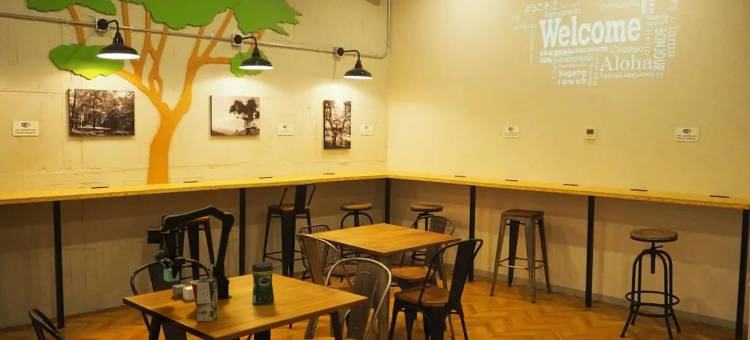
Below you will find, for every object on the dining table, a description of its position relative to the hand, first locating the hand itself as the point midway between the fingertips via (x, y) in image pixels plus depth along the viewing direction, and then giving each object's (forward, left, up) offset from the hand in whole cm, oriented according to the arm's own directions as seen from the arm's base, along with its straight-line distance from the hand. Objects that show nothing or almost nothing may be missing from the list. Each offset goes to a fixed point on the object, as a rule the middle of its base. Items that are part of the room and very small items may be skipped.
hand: (171, 277), depth 308 cm
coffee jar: (-29, -30, -11) cm, 43 cm away
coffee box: (-35, 0, -11) cm, 37 cm away
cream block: (0, -9, -11) cm, 14 cm away
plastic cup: (-19, -6, -11) cm, 23 cm away
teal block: (0, 0, -1) cm, 1 cm away
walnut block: (+7, -7, -11) cm, 15 cm away
